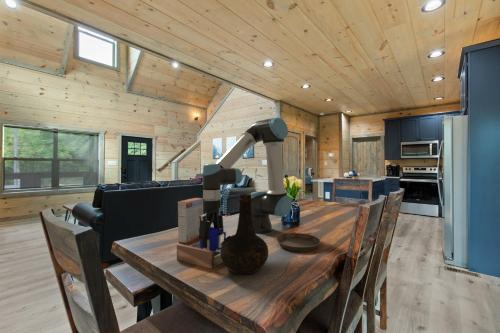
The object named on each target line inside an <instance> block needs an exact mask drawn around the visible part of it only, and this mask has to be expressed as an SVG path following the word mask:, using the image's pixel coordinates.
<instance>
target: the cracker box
mask: <svg viewBox="0 0 500 333" xmlns="http://www.w3.org/2000/svg"><path fill="white" fill-rule="evenodd" d="M203 200H204V199H203V197H202V198H201V197H193V198H188V199H184V200H180V201H177V220H178V221H177V224H178V225H177V227H178V229H177V230H178V232H177V233H178V236H177V237H178V243H180V244H189V243H191V242H193V241H196V240H197V239H198V240H199V228H200V218H199V216H200V215H204V208H203Z"/></svg>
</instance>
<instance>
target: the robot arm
mask: <svg viewBox="0 0 500 333" xmlns="http://www.w3.org/2000/svg"><path fill="white" fill-rule="evenodd" d="M288 134H289V129H288V125H287V123H286V121H285V120H284V119H283V118H281V117H271V118H267V119H262V120H257V121H256V122H253V123H252V124H251V125H250V126H248V127H247V128H246V129H245V130H244V131H243V132H242V133H241V135H240V136H241V137H240V138H239V139H238V140H236V142H235V143H233V145H232V146H230V148H229V149H228V150H227V151H226V152H225V153H224V154H223V155H222V156H220V158H219V159H218V160H217V161H215V163H204V164H203V166H202V175H201V176H202V189H203V190H202V198H203V210H204V211H203V215H200V216H199V218H200V228H199V238H198V240H199V241H200V240H202V241H203V249H205V250H209V240H208V237H209V232H210V227H212V225H213V227H214V229H216V228H217V229H218V231H222V232H225V230H224V218H223V216H224V211H223V210H220V209H221V186H225V185H226V186H227V185H237V184H240V183H242V181H243V173H242V170H241V169H240V168H238V167H237V168H235V167H233V166H234V165H235V164H236V163H237V162H238V161H239V160H240V159H241V158H242V156H243V155H245V153H246V152H247V151H248V150H249V149H250V148H251V147H253V146H255V145H256V144H257V143H259V142H262V145H264V147H265V153H266V154H265V155H266V166H267V167H266V168H267V169H266V170H267V183H268V184H267V185H268V190H266V191H253V192H251V193H250V195H251V199H253V201H251V207H252V219H253V226H254V231H255V234H265V233H266V234H267V233H270V232H272V231H273V225H272V222H271V219H270V215H271V216H275V217H281V218H282V217H283V218H284V217H286V216H287V215H289V213H290V212H291V210H292V206H293V201H292V198H291V197H290V196H289V195H288V192H287V190H286V189H285V184H284V168H283V167H284V166H283V149H282V146H283V144H284V143H285V139H286V138H287V137H288ZM223 235H224V234H223V233H219V234H218V240H217V246H218V247H219V248H221V236H223ZM205 236H206V237H205ZM216 251H221V249H216Z"/></svg>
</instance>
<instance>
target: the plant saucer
mask: <svg viewBox="0 0 500 333" xmlns="http://www.w3.org/2000/svg"><path fill="white" fill-rule="evenodd" d="M276 241H277V243H278V244H279V246H281V247H282V248H283V249H284V250H285V249H286V250H289V251H293V252H309V251H314V250H315V249H316V248H317V247H318V246H319V244H320V243H321V240H320V239H319V237H317V236H314V235H311V234H307V233H301V232H300V233H298V232H297V233H296V232H294V233H293V232H290V233H289V232H288V233H283V234H280V235H278V236H277V237H276Z"/></svg>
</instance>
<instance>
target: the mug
mask: <svg viewBox="0 0 500 333" xmlns="http://www.w3.org/2000/svg"><path fill="white" fill-rule="evenodd" d="M219 233H223V234H222V235H223V241H224V240H225V238H227V232H226V231H223V232H222V231H218V229H217V228H216V229H214V226H211V227H210V232H209V237H208V240H209V250H210V251H214V253H216V251H217V250H216V249H220V250H221V247H220V248H219V247H218V246H217V240H218V234H219ZM205 237H206V236H205ZM199 242H200V248H201V249H203V241H202V240H200V239H199Z"/></svg>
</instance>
